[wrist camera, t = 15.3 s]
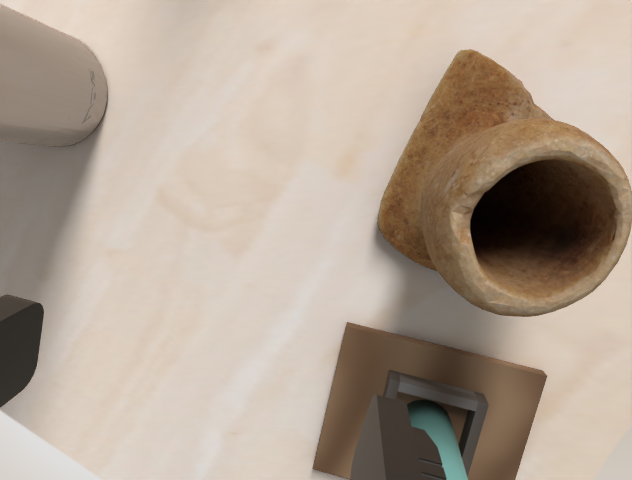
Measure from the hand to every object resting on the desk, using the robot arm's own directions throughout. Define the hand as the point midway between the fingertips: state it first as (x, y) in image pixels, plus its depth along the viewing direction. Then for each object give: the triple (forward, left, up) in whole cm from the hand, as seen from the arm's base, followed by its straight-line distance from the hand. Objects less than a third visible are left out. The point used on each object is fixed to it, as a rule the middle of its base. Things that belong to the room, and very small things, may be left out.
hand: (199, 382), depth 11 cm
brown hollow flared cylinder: (+10, +7, -28) cm, 31 cm away
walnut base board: (+11, -13, -28) cm, 33 cm away
